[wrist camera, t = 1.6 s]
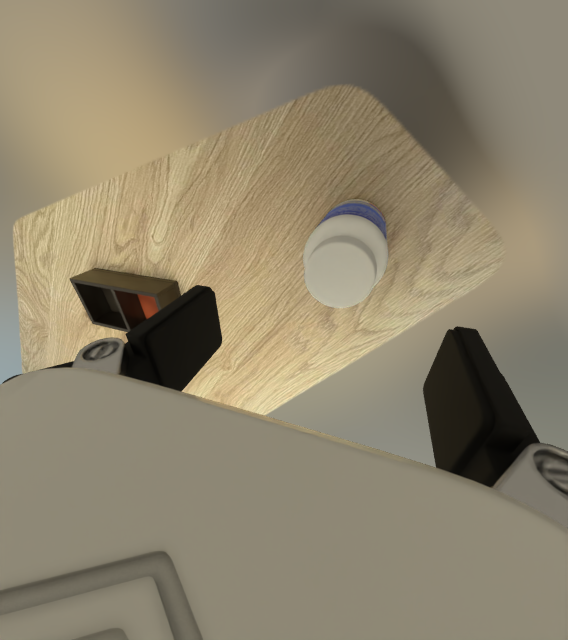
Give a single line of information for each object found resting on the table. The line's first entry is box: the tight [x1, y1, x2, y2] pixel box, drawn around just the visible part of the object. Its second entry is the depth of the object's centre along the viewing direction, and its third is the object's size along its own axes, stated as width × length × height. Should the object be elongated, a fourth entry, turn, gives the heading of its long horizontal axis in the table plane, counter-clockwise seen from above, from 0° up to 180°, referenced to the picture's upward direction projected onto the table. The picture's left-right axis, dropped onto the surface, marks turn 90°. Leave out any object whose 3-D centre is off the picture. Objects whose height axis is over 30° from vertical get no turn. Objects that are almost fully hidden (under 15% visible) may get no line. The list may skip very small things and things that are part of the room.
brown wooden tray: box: [70, 268, 180, 332], centre depth 34 cm, size 7×14×4 cm, turn 90°
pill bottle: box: [303, 199, 388, 308], centre depth 18 cm, size 5×5×10 cm
